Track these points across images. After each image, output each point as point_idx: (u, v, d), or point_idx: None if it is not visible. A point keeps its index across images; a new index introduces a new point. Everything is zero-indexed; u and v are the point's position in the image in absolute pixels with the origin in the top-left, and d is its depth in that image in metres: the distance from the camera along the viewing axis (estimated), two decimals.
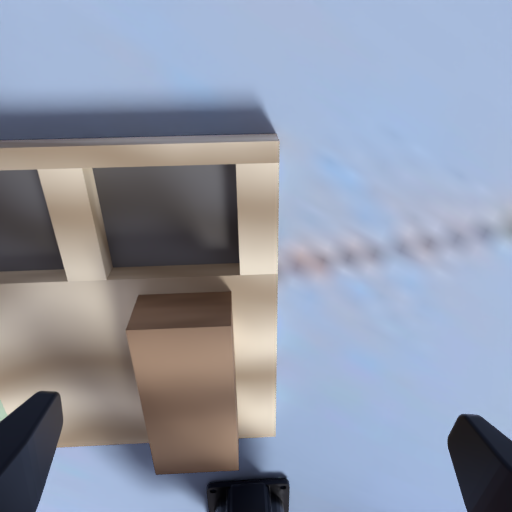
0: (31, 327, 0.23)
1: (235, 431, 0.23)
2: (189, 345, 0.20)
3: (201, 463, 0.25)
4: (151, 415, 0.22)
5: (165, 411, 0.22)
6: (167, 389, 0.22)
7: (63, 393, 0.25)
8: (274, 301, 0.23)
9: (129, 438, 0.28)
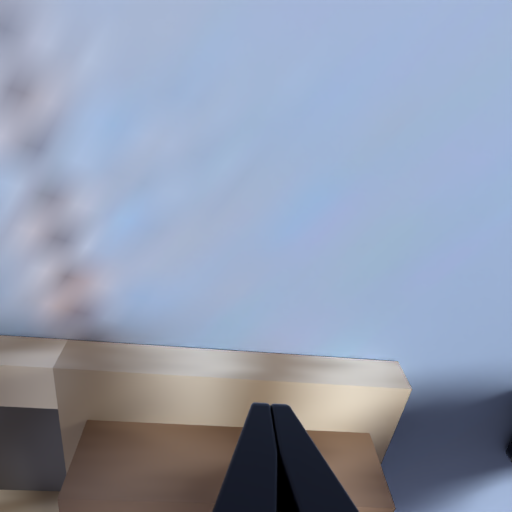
0: None
1: None
2: None
3: None
4: None
5: None
6: None
7: None
8: (106, 374, 0.14)
9: None
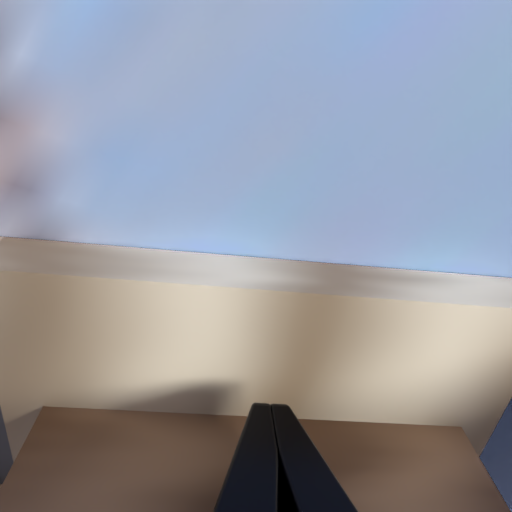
0: None
1: None
2: None
3: None
4: None
5: None
6: None
7: None
8: (60, 280, 0.09)
9: None
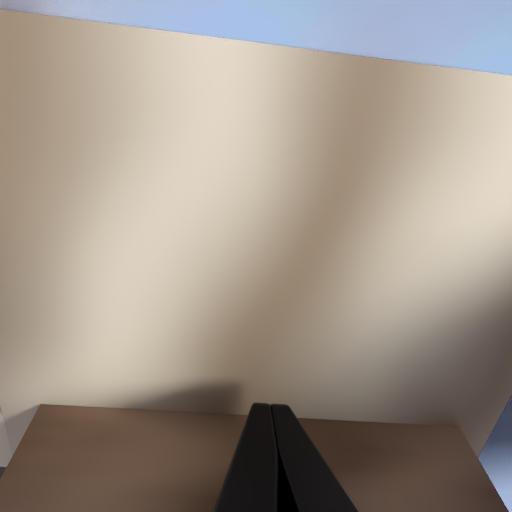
0: None
1: None
2: None
3: None
4: None
5: None
6: None
7: None
8: (29, 23, 0.07)
9: None
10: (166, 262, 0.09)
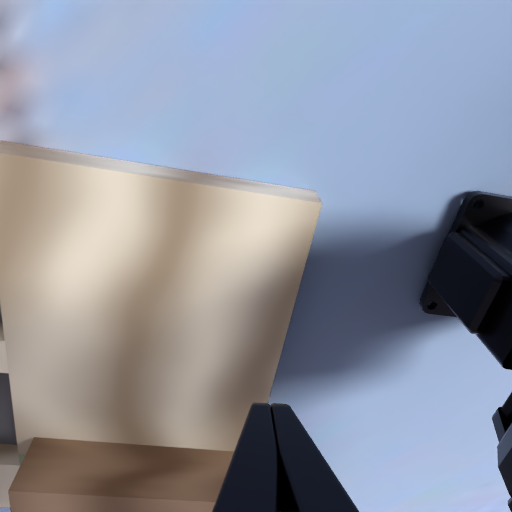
0: (72, 416, 0.22)
1: (167, 500, 0.21)
2: None
3: None
4: None
5: None
6: None
7: (171, 416, 0.22)
8: (33, 162, 0.15)
9: (263, 378, 0.21)
10: (94, 263, 0.18)
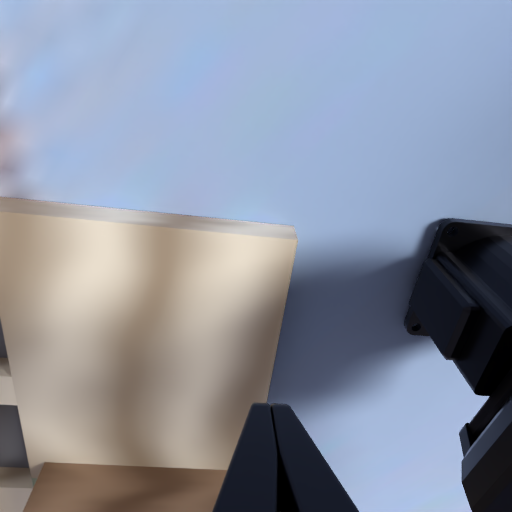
0: (78, 442, 0.23)
1: None
2: None
3: None
4: None
5: None
6: None
7: (171, 439, 0.23)
8: (26, 217, 0.17)
9: None
10: (88, 304, 0.19)
